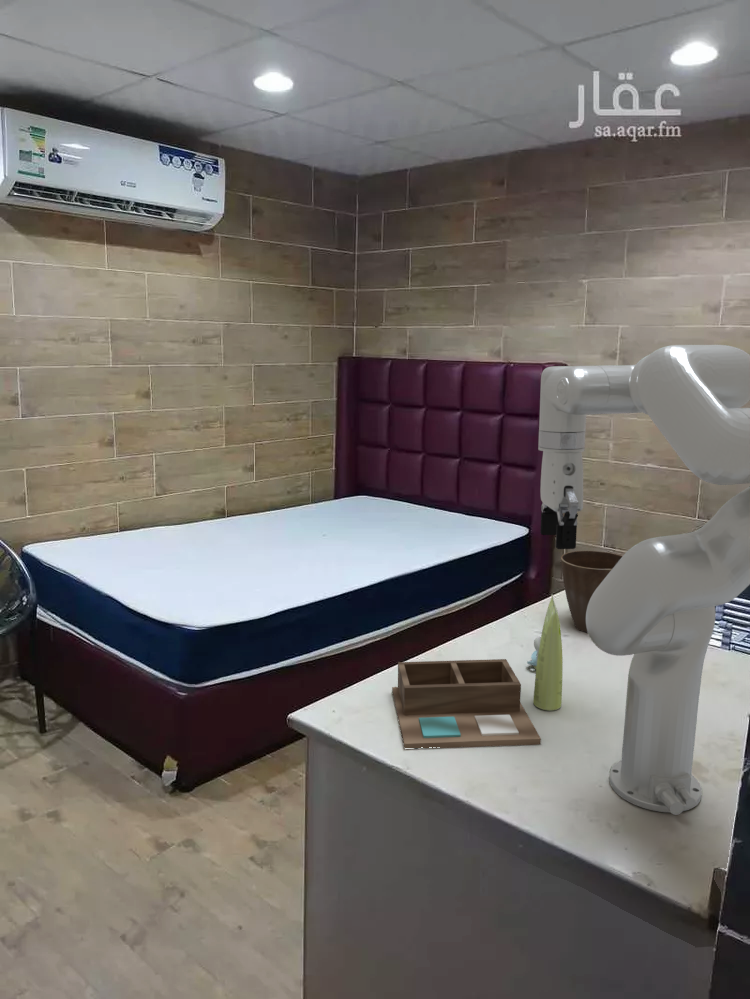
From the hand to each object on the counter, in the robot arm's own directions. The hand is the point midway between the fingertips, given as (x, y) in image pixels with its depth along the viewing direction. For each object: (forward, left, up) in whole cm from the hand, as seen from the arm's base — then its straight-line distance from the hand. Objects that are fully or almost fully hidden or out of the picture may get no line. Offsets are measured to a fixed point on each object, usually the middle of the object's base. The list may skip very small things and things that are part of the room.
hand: (557, 541), depth 130 cm
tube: (-1, +1, -30) cm, 30 cm away
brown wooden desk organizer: (-4, +17, -30) cm, 34 cm away
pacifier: (+15, -4, -30) cm, 34 cm away
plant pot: (+35, -20, -30) cm, 51 cm away
